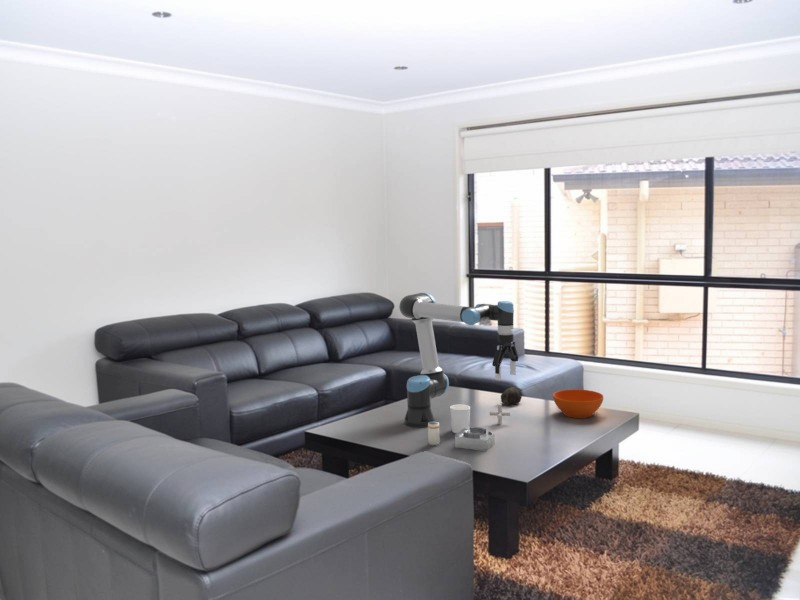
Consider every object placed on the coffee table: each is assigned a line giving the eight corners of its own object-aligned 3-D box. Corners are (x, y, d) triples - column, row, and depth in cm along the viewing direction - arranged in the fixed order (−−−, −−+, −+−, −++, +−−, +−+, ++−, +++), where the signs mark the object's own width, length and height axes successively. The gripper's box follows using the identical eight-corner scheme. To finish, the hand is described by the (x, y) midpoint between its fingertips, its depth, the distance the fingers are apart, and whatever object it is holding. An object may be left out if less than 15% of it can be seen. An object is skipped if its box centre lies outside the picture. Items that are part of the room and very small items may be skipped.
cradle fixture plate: (455, 447, 326) (454, 432, 325) (463, 440, 335) (463, 425, 335) (486, 451, 319) (486, 435, 318) (494, 443, 329) (494, 428, 328)
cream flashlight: (426, 445, 329) (426, 423, 328) (431, 442, 334) (430, 420, 333) (437, 446, 327) (436, 424, 326) (441, 443, 332) (441, 421, 331)
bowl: (585, 405, 388) (585, 387, 387) (613, 417, 364) (613, 398, 363) (544, 410, 380) (543, 392, 379) (569, 423, 356) (569, 403, 355)
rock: (497, 403, 394) (499, 385, 393) (506, 401, 403) (509, 384, 402) (513, 407, 388) (516, 389, 387) (522, 405, 397) (525, 388, 397)
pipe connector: (509, 427, 353) (509, 407, 352) (489, 426, 355) (488, 406, 354) (510, 421, 363) (510, 401, 362) (490, 420, 365) (490, 401, 364)
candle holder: (457, 435, 343) (456, 410, 341) (446, 430, 351) (446, 406, 350) (474, 432, 347) (474, 407, 346) (463, 426, 356) (463, 403, 355)
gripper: (498, 338, 333) (498, 383, 336) (525, 330, 352) (525, 373, 355) (484, 336, 338) (484, 381, 340) (512, 329, 357) (512, 371, 359)
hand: (505, 377), depth 347 cm, fingers open, 13 cm apart
